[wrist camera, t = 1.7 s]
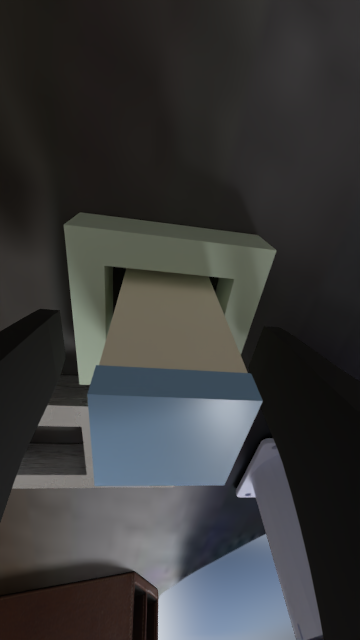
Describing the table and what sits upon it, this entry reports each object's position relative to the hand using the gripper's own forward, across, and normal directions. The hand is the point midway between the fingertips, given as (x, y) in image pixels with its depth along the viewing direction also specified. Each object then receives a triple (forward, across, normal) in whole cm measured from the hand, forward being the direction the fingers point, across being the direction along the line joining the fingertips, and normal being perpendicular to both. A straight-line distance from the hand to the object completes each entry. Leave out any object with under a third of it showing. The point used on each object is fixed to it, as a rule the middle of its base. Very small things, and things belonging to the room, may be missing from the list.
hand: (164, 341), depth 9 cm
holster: (+3, 0, 0) cm, 3 cm away
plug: (+3, 0, 0) cm, 3 cm away
